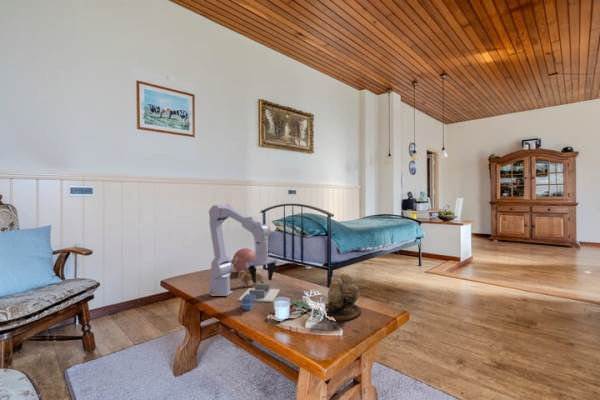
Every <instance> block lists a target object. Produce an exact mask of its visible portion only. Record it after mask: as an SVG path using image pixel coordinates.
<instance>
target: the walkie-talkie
mask: <svg viewBox="0 0 600 400" xmlns="http://www.w3.org/2000/svg"><path fill="white" fill-rule="evenodd" d="M289 303H290V316H291V315H298V314H300V313H301V312H302V311H296V309H295V308H293V307H294V306H295V304H294V303H291V302H289ZM275 310H276V309H274V310H272V311H269V316H270V315H271V314H272V315H275Z"/></svg>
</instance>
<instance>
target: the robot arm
mask: <svg viewBox="0 0 600 400" xmlns="http://www.w3.org/2000/svg"><path fill="white" fill-rule="evenodd" d="M208 215H209V221H208V222H209V228H210V229H209V230H210V234H211V236H210V237H211V242H212V249H213V255H214V258H213V259H212V261H211V262H210V265H211V266H210V273H211V275H212V276H210V278H209V281H208V287H209V289H208V293H209V294H215V295H227V294H228V295H229V294H230V293H231V294H232V293H233V292H234V291H233V290H231V284H230V283H231V280H230V279H231V277H230V276H231V275H232V274H231V273H232V272H233V270H234V266H233V264H232V263H231V258H230V257H228V256H227V253H226V252H227V251H226V247H225V245H226V244H225V240H224V234H223V228H222V224H223V223H224V222H225V221H226V220H227V219H228V218H231V219H233V220H235V221H236V222H238V223H240V224H241V227H242V228H244V229H245V230H247V231H248V232H250V233H251V234H252V236H253V238H254V245H255V246H254V247H255V248H254V249H255V251H254V252H255V260H256V261H252V262H247V263H246V267H247V268H248V270H249V272H250V273H249V274H251V277H252V281H251V282H252V283H253V284H255V283H256V273H257V268H255V266H256V267H259V266H267V279H268V280H269V281H272V279H273V275H274V272H275V269H276V268H277V264H278V259H277V258H270V259H269V235H270V234H271V228H270V226H269V225H268V224H267V223H264V224H263V223H262V222H261V221H257V220H255V219H254V217H253V216H244V215H243V214H242V213H240V212H239V211H238V210H236V209H235V208H234V207H233V206H231V205H230V204H223V205H222V204H219V205H218V204H215V205H212V206H211V207H210V209H209V210H208ZM209 294H208V295H209ZM231 294H230V295H231ZM230 295H229V296H230Z"/></svg>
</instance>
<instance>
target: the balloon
mask: <svg viewBox="0 0 600 400" xmlns="http://www.w3.org/2000/svg"><path fill="white" fill-rule="evenodd" d="M230 261H231V264H232V266H233V269H234V270H236V271H237V273H239V272H240V271H245V272H248V273H249V274H250V272H249V270H248V268H247V267H246V263H247V262H252V261H256V260H255V251H254V250H252V249H250V248H247V247H246V248H245V247H244V248H241V249H239V250H238V249H237V251H236V252H235V253H234V255H233V257H232V259H230ZM256 267H257V266H255V268H256ZM256 269H257V268H256Z"/></svg>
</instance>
